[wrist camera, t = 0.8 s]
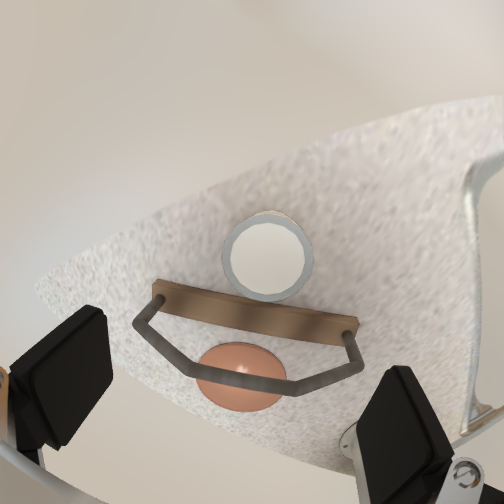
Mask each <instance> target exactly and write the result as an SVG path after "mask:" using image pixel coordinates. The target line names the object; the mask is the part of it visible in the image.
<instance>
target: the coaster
mask: <svg viewBox="0 0 504 504" xmlns="http://www.w3.org/2000/svg"><path fill="white" fill-rule="evenodd" d="M199 363H200V364H204V365H209V366H213V367H217V368H222V369H227V370H231V371H236V372H242V373H247V374H252V375H258V376H263V377H269V378H276V379H282V380H286V373H285V370H284V367H283V366H282V364H281V362H280V361H279V360H278V359H277V358H276V357H275V356H274V355H273V354H272V353H270V352H269V351H267V350H265V349H263V348H261V347H259V346H255V345H252V344H248V343H226V344H221V345H218V346H216V347H214V348H212V349H210V350H209V351H207V352H206V353H205V354H204V355H203V356H202V358H201V359H200V361H199ZM196 381H197V384H198V387H199V388H200V390H201V392H202V393H203V394H204V395H205V396H206V397H207V398H208V399H209V400H210V401H212V402H213V403H215V404H216V405H218V406H220V407H223V408H225V409H228V410H232V411H238V412H254V411H259V410H263V409H265V408H268V407H270V406H272V405H273V404H275V403H276V402H277V401H278V400H279V399H280V398H281V397H282V395H278V394H271V393H265V392H259V391H253V390H247V389H242V388H237V387H232V386H227V385H222V384H218V383H213V382H209V381H205V380H200V379H196Z"/></svg>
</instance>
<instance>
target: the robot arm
mask: <svg viewBox="0 0 504 504" xmlns="http://www.w3.org/2000/svg"><path fill="white" fill-rule="evenodd" d="M10 370H11V372H10V373H9V374H7V372H6V371H5V370H4V369H3V368H2V367H0V504H108V503H105V502H103V501H101V500H99V499H97V498H95V497H93V496H91V495H89V494H87V493H85V492H83V491H81V490H79V489H77V488H75V487H73V486H72V485H70V484H68V483H66V482H65V481H63V480H61V479H59V478H58V477H56V476H54V475H53V474H51V473H49V472H48V471H46V470H45V464H44V459H43V453H42V446H43V445H44V443H46V444H47V445H49V446H50V447H52V448H53V449H55V450H57V451H58V450H59V449H60V447H61V446H66V445H67V444H68V443H69V441H70V440H71V438H72V437H73V435H74V434H75V433H76V431H77V430H78V428H79V427H80V426H81V424H82V422H83V421H84V420H85V418H86V417H87V416H88V414H89V413H90V411H91V410H92V409H93V407H94V406H95V405H96V403H97V402H98V401H99V399H100V398H101V396H102V395H103V394H104V392H105V391H106V389H107V388H108V387H109V385H110V384H111V382H112V380H113V369H112V362H111V354H110V345H109V336H108V325H107V317H106V315H104V313H103V311H102V309H100V308H97V307H94V306H91V305H85V306H83V307H82V308H81V309H79V310H78V311H77V312H75V313H74V314H73V315H71V316H70V317H69V318H68V319H66V320H65V321H64V322H63V323H61V324H60V325H59V326H58V327H56V328H55V329H54V330H53V331H51V332H50V333H49V334H48V335H46V336H45V337H44V338H43V339H41V340H40V341H39V342H38V343H37V344H35V345H34V346H33V347H32V348H31V349H29V350H28V351H27V352H26V353H25V354H24V355H22V356H21V357H20V358H19V359H18V360H16V361H15V362H14V363H13V364H12V365H11V366H10ZM340 449H341V453H342V454H343V455H344V456H345V457H347V458H349V459H352V460H353V465H354V471H355V477H356V483H357V489H358V495H359V502H360V504H504V492H502V491H500V490H497V489H495V488H493V487H491V486H489V485H487V484H484V471H483V469H482V467H481V465H480V464H479V463H478V462H477V461H475V460H473V459H471V458H467V457H461V458H458V459H456V460H455V461H452V459H451V458H452V456H453V455H454V451H453V449H452V447H451V445H450V443H449V440H448V438H447V436H446V434H445V432H444V430H443V428H442V426H441V424H440V422H439V420H438V418H437V416H436V414H435V412H434V410H433V408H432V406H431V404H430V403H429V401H428V399H427V397H426V395H425V393H424V391H423V389H422V388H421V386H420V384H419V382H418V380H417V379H416V377H415V375H414V373H413V371H412V370H411V368H410V367H409V366H398V365H394V366H392V367H391V368H390V369H388V370H386V372H385V373H384V375H383V377H382V379H381V381H380V383H379V385H378V387H377V389H376V391H375V392H374V394H373V396H372V398H371V400H370V401H369V403H368V405H367V407H366V408H365V410H364V412H363V414H362V415H361V417H360V419H359V420H358V422H357V423H356V424H354V425H353V426H352V427H351V428H349V429H348V430H347V431H346V432H345V434H344V435H343V436H342V438H341V441H340Z"/></svg>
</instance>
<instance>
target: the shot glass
mask: <svg viewBox="0 0 504 504" xmlns="http://www.w3.org/2000/svg"><path fill="white" fill-rule="evenodd" d="M222 263H223V268H224V272H225V275H226V277H227V278H228V280H229V281H230V283H231V284H232V286H233V287H234V288H235V289H236V290H237V291H239V292H240V293H242V294H243V295H245V296H246V297H248V298H249V299H254V300H258V301H262V302H272V301H279V300H284V299H286V298H288V297H289V296H291V295H293V294H295V293H297V292H298V291H299V290H300V289H301V288H302V286H303V285H304V284H305V283H306V281H307V280H308V279H309V277H310V273H311V270H312V266H313V263H314V260H313V252H312V244H311V243H310V241H309V239H308V238H307V236H306V234H305V233H304V231H303V229H302V228H301V227H300V226H298V225H297V224H296V223H295V222H294V221H293V220H292V219H290V218H289V217H288V216H286V215H285V214H283V213H281V212H277V211H273V210H269V211H262V212H259V213H257V214H255V215H253V216H251V217H249V218H247V219H246V220H244V221H243V222H241V223H240V224H238V225H236V226H235V227H234V228H233V230H232V231H231V233H230V234H229V236H228V237H227V239H226V240H225V242H224V247H223V252H222Z"/></svg>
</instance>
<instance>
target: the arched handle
mask: <svg viewBox="0 0 504 504" xmlns="http://www.w3.org/2000/svg"><path fill="white" fill-rule="evenodd" d="M157 311H161V312H165V313H168V314H172V315H176V316H180V317H185V318H189V319H193V320H197V321H202V322H206V323H210V324H215V325H220V326H224V327H229V328H234V329H239V330H244V331H249V332H254V333H259V334H265V335H270V336H276V337H282V338H288V339H294V340H300V341H307V342H313V343H320V344H328V345H335V346H343V347H345V349H346V352H347V355H348V358H349V361H350V363H347V364H345V365H342V366H339V367H337V368H334V369H331V370H328V371H325V372H323V373H320V374H317V375H314V376H311V377H308V378H304V379H301V380H298V381H289V380H282V379H276V378H269V377H263V376H258V375H252V374H247V373H242V372H236V371H231V370H227V369H222V368H217V367H213V366H209V365H204V364H200V363H196V362H193V361H191V360H190V359H189V358H188V357H186V356H185V355H184V354H183V353H181V352H180V351H179V350H178V349H177V348H175V347H174V346H173V345H172V344H171V343H169V342H168V341H167V340H166V339H165V338H164V337H162V336H161V335H160V334H159V333H158V332H157V331H155V330H154V329H153V328H152V327H151V326H150V325H149V324H148V322H149V321H150V320H151V319H152V318H153V316H154V315H155V314H156V313H157ZM359 325H360V323H359V321H358V319H357V317H351V316H344V315H337V314H331V313H325V312H319V311H313V310H307V309H301V308H295V307H290V306H284V305H279V304H273V303H268V302H262V301H257V300H252V299H247V298H242V297H237V296H232V295H227V294H222V293H217V292H213V291H208V290H203V289H199V288H194V287H190V286H185V285H181V284H176V283H172V282H168V281H163V280H159V279H157V280H156V281H155V282H154V283H153V284H152V300H151V301H150V302H149V303H148V305H147V306H146V307H145V308H144V309H143V310H142V311H141V312H140V313H139V314H138V315H137V316H136V317H135V319H134V320H133V322H132V326H133V328H134V329H135V330H136V331H137V332H138V333H139V334H140V335H141V336H142V337H143V338H144V339H145V340H146V341H148V342H149V343H150V344H151V345H152V346H153V347H154V348H155V349H156V350H157V351H158V352H159V353H160V354H162V355H163V356H164V357H165V358H166V359H167V360H168V361H169V362H170V363H172V364H173V365H174V366H175V367H176V368H177V369H178V370H180V371H181V372H182V373H183V374H184V375H186V376H188V377H192V378H196V379H200V380H205V381H209V382H213V383H218V384H222V385H227V386H232V387H237V388H242V389H247V390H253V391H259V392H265V393H271V394H278V395H285V396H292V397H298V396H301V395H304V394H306V393H309V392H312V391H315V390H317V389H320V388H323V387H325V386H328V385H330V384H333V383H336V382H338V381H340V380H343V379H345V378H348V377H350V376H352V375H355V374H357V373H359V372H361V371H362V370H363V369H364V366H365V365H364V362H363V359H362V357H361V354H360V351H359V349H358V346H357V344H356V341H355V339H354V338H355V336H356V333H357V330H358V328H359Z"/></svg>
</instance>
